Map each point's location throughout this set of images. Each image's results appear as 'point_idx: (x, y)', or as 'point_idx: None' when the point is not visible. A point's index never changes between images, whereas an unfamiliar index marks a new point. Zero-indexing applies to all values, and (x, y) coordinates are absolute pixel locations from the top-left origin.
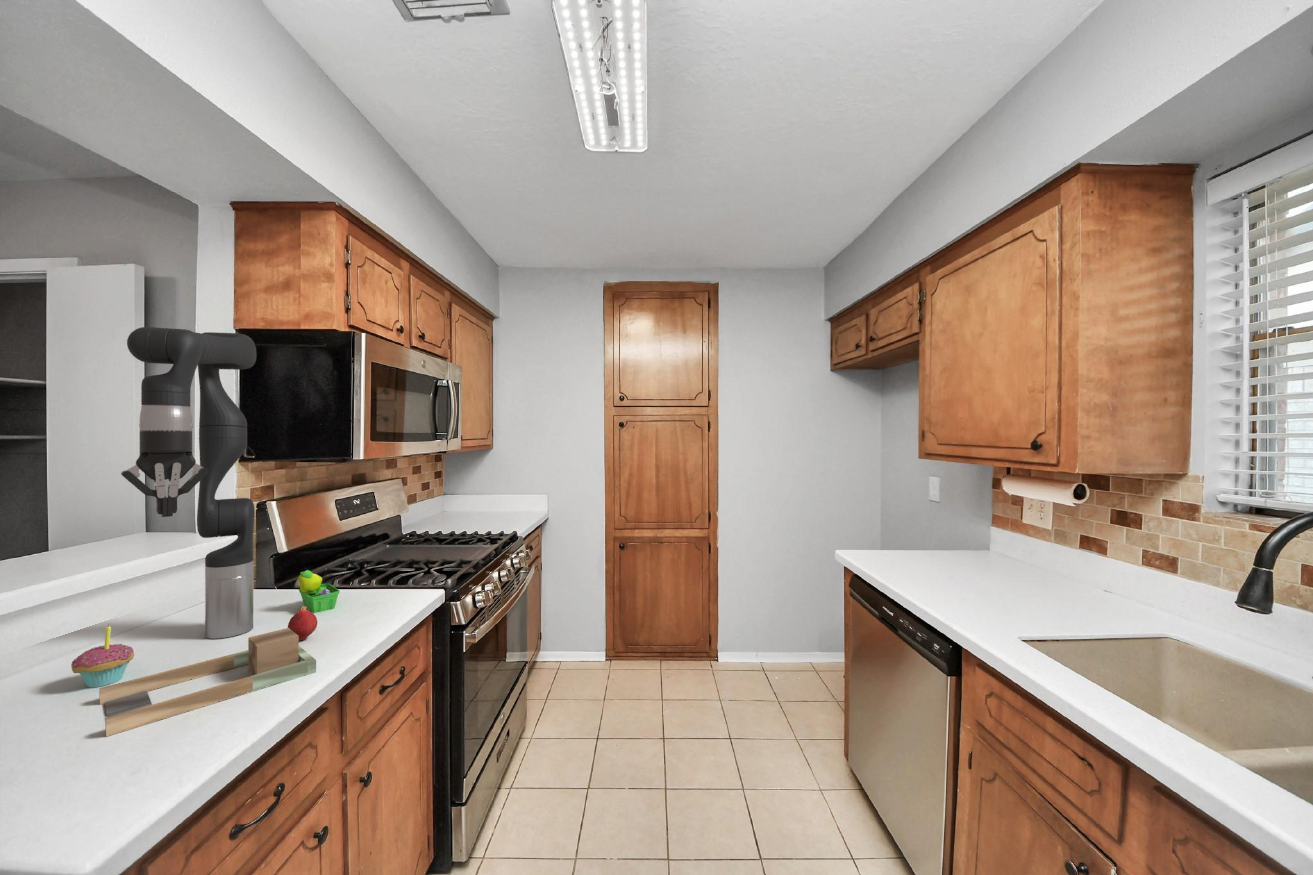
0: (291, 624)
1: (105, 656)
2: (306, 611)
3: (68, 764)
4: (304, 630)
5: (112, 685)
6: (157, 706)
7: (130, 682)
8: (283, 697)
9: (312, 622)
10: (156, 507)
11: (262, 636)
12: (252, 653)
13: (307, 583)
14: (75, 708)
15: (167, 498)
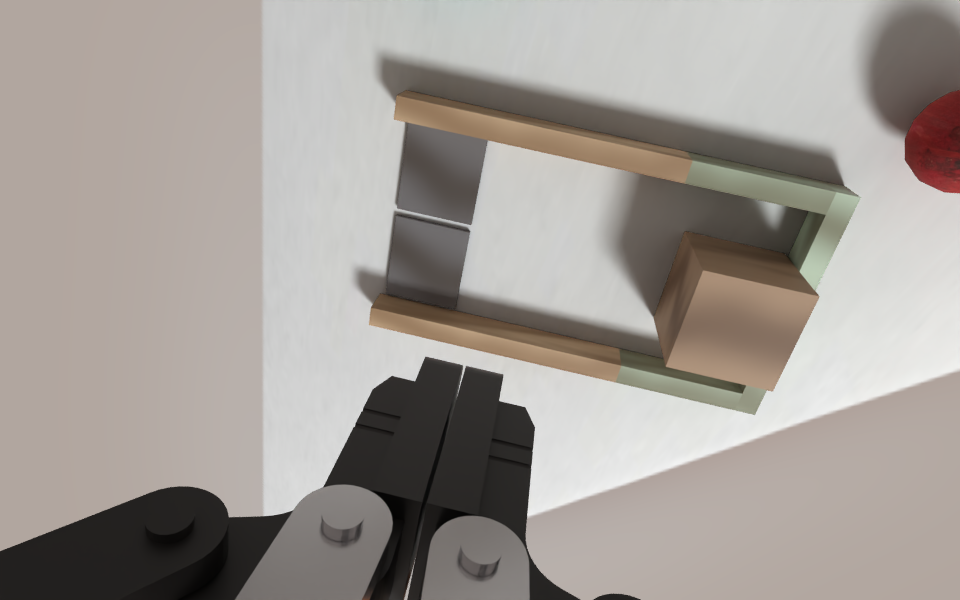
0: (924, 153)
1: None
2: None
3: (323, 359)
4: (929, 185)
5: (420, 107)
6: (445, 342)
7: (453, 127)
8: (626, 443)
9: None
10: (357, 424)
11: (727, 300)
12: (678, 300)
13: None
14: (364, 81)
15: (411, 582)
